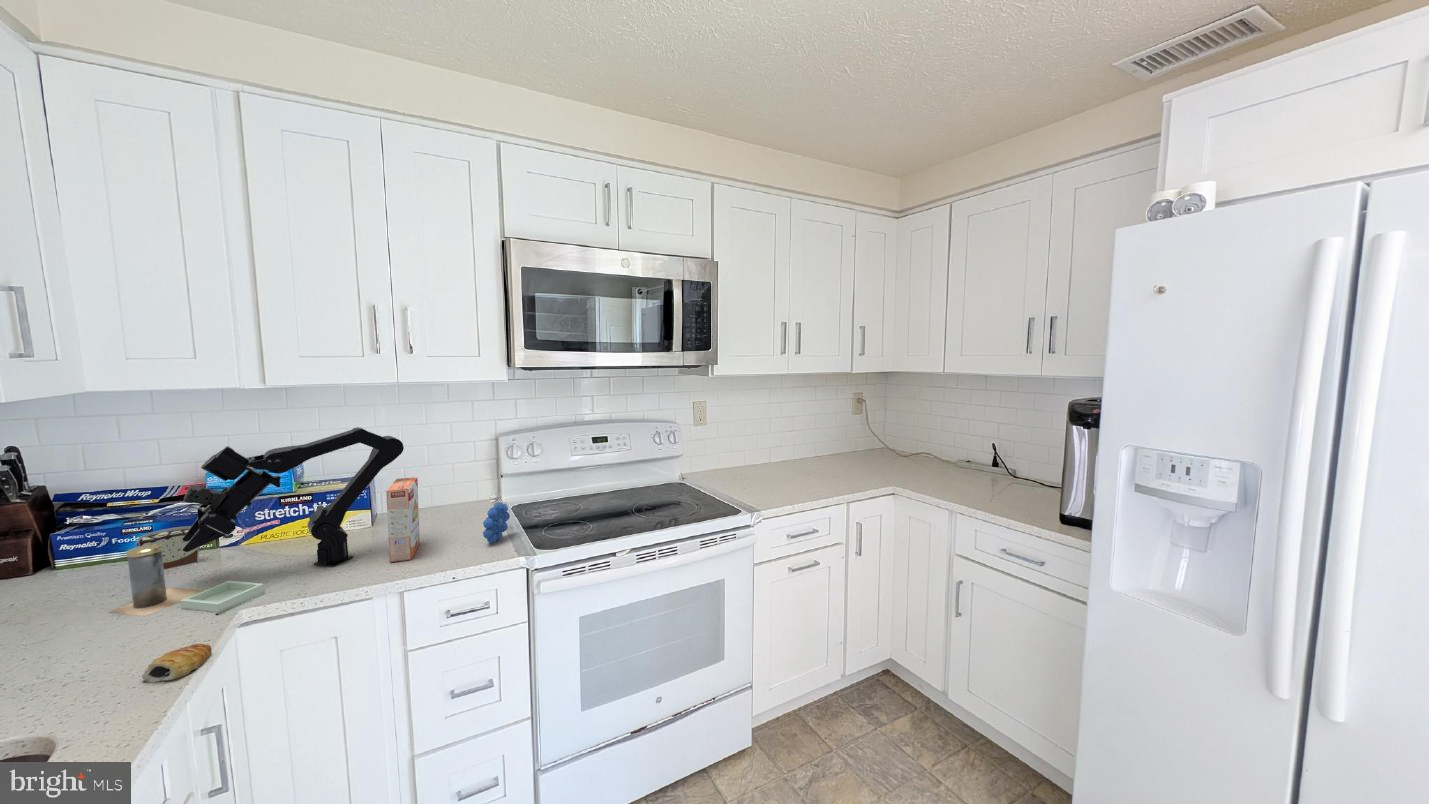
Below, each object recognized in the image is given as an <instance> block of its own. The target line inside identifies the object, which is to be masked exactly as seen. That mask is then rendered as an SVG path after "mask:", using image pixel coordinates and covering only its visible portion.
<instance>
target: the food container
mask: <svg viewBox="0 0 1429 804" xmlns="http://www.w3.org/2000/svg"><path fill="white" fill-rule="evenodd" d="M191 526H192V525H188V526H178V527H177V526H176V527H170V528H164V529H160V530H155V531H151V532H149V533H146V534H143V535H141V536H139V537H137V540H136V542H135V547H134V548H136V547H139V546H144V545H151V544H161V545H162V558H163V567H164V570H168V569H172V568H176V567H177V568H178V567H180V566H186V565H190V564H193V563H199V555H200V553H199V551H200V547H198V548H196V549H193V550H191V551H189V552H185V551H183V548H184V547H185V546H186V544H187V543H188V542H189V541H190V540H189V541H187V542H186V541H184V540H182V539H183V537H184V536H185V535H186V533H187V532H188V530H189V529H190V528H191Z"/></svg>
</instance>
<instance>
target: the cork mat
mask: <svg viewBox="0 0 1429 804" xmlns="http://www.w3.org/2000/svg"><path fill="white" fill-rule="evenodd" d="M205 590H206V589H205ZM205 590H203V589H193V588H185V587H170V588H168V589H167V588H166V595H167V600H166V601H164V602H162V603H160V604H157V605H154V606H151V607H146V608H134V607H133V602H130V603H129V604H126V605H123V606H121V607H118V608H116V609H113V610H110V611H107V613H110V614H117V615H118V614H119V615H128V616H139V617H146V616H149V615H152V614H154V613H156V612H159V611H162V610H163V609H166V608H168V607H172V606H173V605H175V604H178V603H181V600H183V599H185V598H188V597H190V596H193V595H195V594H198V593H200V592H202V591H205Z"/></svg>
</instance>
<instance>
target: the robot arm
mask: <svg viewBox="0 0 1429 804" xmlns="http://www.w3.org/2000/svg"><path fill="white" fill-rule="evenodd" d="M357 444H362V445H364V446H368V447H369V448H372V449H371V451H370V453H369V456H368V459H367V461H365V463H364V464H363V465H362V466H361V468H360V469H359V470H358V471H356V473H355V474H354V476H353V477H352V478H351V479H350V480H349V481H348V483H347V484H346V485H345V486H344V487H343V488H342V489H341V491H340V492H339V494H338V495H337V496H336V497H335V498H334V499H333V501H331V502H330V503H329V504H327V505H326V506H325V507H324V506H323V505H321V504H319V505H318V506H317V507H316V508H315V509H316V510H315V511H314V512H313V513H312V514H311V515H310V516H308V519H309V520H308V522H307V529H308V531H309V533H310V534H311V536H312V537H313V538H314V539H316V540H319V542H318V543H317V549H316V556H317V559H316V560H317V561H315V562H314V563H313V565H314V566H320V567H321V566H323V567H336V566H338V565H340V564H342V563H344V562H346V561H349V560H350V559H353V558H354V555H352V554H351V555H350V554H349V550H348V547H349V546H348V536H349V535H348V534H349V533H347V532H346V530H344V528H343V527H342V526H341V525H342V523H343V521H344V519H345V516H346V514H347V511H348V510H349V509H350V507H352V505H353V504H354V503H355V502H356V500H357V499H358V498H359V496H360V495H361V494H362V493H363V492H364V491H365V490H366V489H367V487H368V486H369V485H370V483H372V481H373V480H374V478H375V477H376V476H377V475H378V474H379V473H380V472H381V470H382V469H383V468H386V466H388V465H390V464H391V463H392V462H394V461H395V460H397V458H398V457H399V456H400V455H402V454H403V452H404V449H405V448H404V443H403V442H402V441H401V440H400V439H399V438H396V437H394V436H391V435H384V436H381V435H379V434H376V433H373V432H372V431H368V430H366V429H365V428H362V427H359V426H358V427H354V428H352V429H350V430H347V431H343V432H340V433H337V434H334V435H330V436H328V437H324V438H320V439H316V440H313V441H311V442H308V443H304V444H298V445H297V444H296V445H290V446H283V447H277V448H272V449H269V450H267V451H266V452H265V453H263V454H260V455H255V456H251V457H245V456H244V455H242V454H240V453H238V452H237V451H235V449H233V448H232V447H231V446H226V447H224V448H223V449H221V450H220V451H218V452H216V454H213V455H211V456H210V457H209V458H208V459H207V460H206V461H205V462H204V463H203V464H202V465H201V467H200V469H202V470H203V471H206V472H207V473H209V474H211V475H213V476H215V477H216V478H218V479H221V481H224V482H226V481H228V480H229V481H234V480H236V481H235V482H234V483H232V485H230V486H227V487H224V488H222V489H221V490H216V489H212V488H209V487H208V488H206V487H204V486H202V487H201V486H197V485H190V486H189V488H188V489H187V491H186V494H185V495H184V497H183V502H185V503H188V504H193V503H194V504H198V507H197V509H196V510H197V511H196V512H197V518H196V519H195V520H194V522H193V523H192V524H191V525H190V526H191V528H190V529H189V530H188V532H187V533H186V535H185V536H184V537H183V539H182V540H184V541H186V542H187V541H189V540H190V541H189V542H188V543H187V544H186V546H185V547H184V548H183V551H185V552H189V551H191V550H193V549H196V548H198V547H199V548H200V547H202V546H204V545H207V544H209V543H211V542H213V541H216V540H218V539H221V538H222V537H226V536H227V535H228V536H229V535H231V534H232V533H233V532H234V531H235V530H236V521H235V520H236V519H238V515H239V514H240V513H241V512H242V511H243V510H244V509H245V508H246V507H250V506H251V505H252V504H253V501H254V500H255V499H256V498H257V497H258V496H259V495H260V494H261V493H262V492H263V491H265V490H266V489H267V488H268V487H269V486H270V485H273V486H274V487H276V488H280V487H281V478H282V477H281V475H279V474H283V473H286V472H288V471H290V470H292V469H294V468H297V467H299V466H300V465H301V464H303V463H305V462H307V461H309V460H311V459H314V458H316V457H320V456H322V455H326V454H330V453H332V452H334V451H338V450H341V449H344V448H347V447H351V446H353V445H357ZM257 470H260V471H257ZM245 471H246V472H245ZM267 471H268V472H267ZM271 473H273V474H278V475H272V474H271Z"/></svg>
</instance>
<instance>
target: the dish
mask: <svg viewBox="0 0 1429 804" xmlns="http://www.w3.org/2000/svg"><path fill="white" fill-rule="evenodd" d="M263 595H265V584H264V583H259V582H258V583H257V582H250V581H249V582H247V581H236V580H227V581H225V582H222V583H220V584H217V585H215V586H212V587H211V588H208V589H207V588H206V589H205V591H202V592H200V593H198V594H195V595H193V596H190V597H188V598H185V599H183V600H181V602H180V609H182V610H190V611H191V610H192V611H200V612H210V613H215V614H214V615H217V616H218V615H219V616H220V615H221V614H224V613H226V612H228V611H230V610H233V609H234V607H235V608H237V607H239V606H242V605H243V604H245V602H246V603H247V601H248V602H250V601H252V600H254V599H256V598H258V597H261V596H263ZM253 598H254V599H253ZM251 599H252V600H251ZM242 603H243V604H242ZM238 605H239V606H238ZM236 606H237V607H236ZM232 608H233V609H232Z"/></svg>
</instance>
